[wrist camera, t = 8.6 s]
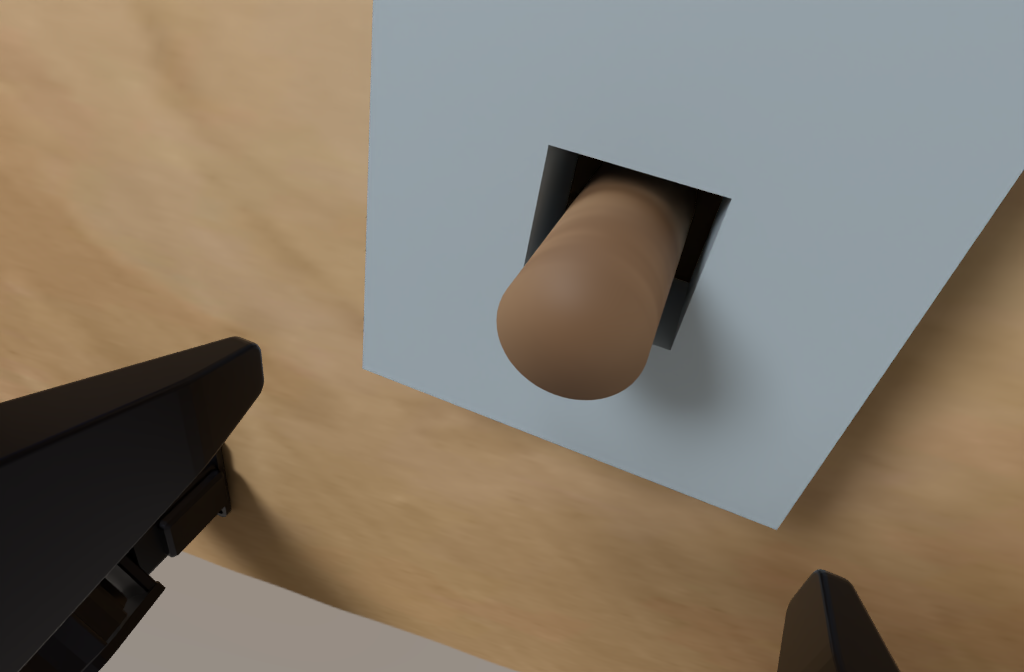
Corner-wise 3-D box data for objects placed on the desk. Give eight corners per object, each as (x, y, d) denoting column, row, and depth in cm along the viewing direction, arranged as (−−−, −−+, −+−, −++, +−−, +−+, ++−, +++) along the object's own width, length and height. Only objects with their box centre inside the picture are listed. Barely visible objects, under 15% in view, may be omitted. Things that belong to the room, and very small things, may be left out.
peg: (579, 230, 20) (486, 369, 14) (604, 132, 18) (509, 243, 12) (677, 260, 20) (624, 421, 13) (712, 163, 18) (671, 296, 11)
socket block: (417, 311, 24) (362, 368, 21) (457, -133, 16) (376, -145, 13) (778, 442, 22) (776, 530, 19) (1049, -7, 13) (1129, 16, 10)
